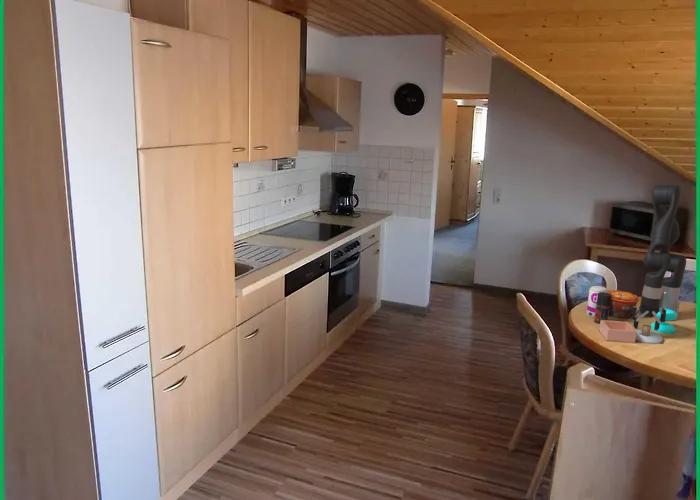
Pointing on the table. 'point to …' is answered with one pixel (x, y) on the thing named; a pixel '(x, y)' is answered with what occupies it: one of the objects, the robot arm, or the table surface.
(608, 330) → the dish
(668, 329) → the donuts
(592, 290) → the supplement can
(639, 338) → the lid
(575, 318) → the table surface
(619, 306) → the food container
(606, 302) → the deodorant
